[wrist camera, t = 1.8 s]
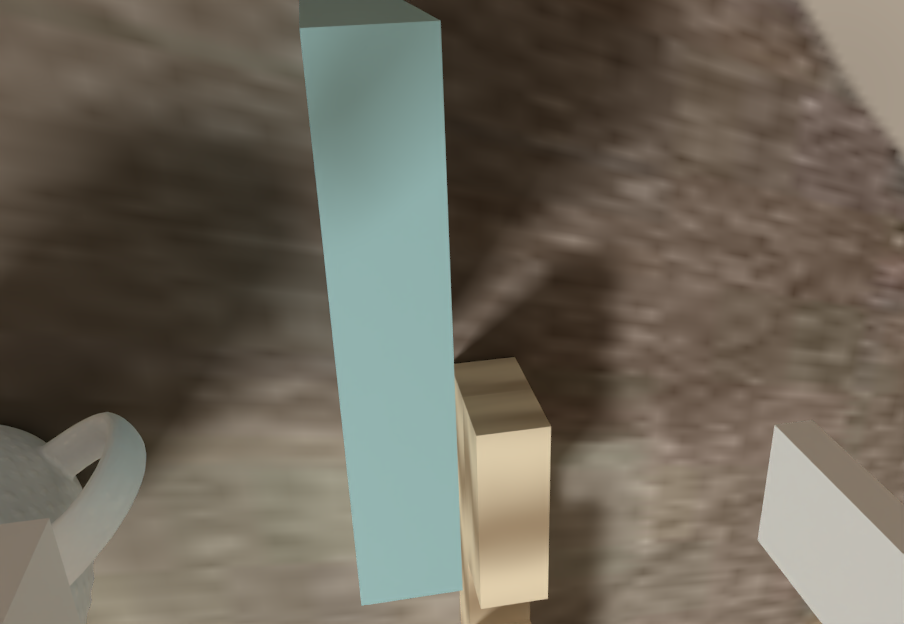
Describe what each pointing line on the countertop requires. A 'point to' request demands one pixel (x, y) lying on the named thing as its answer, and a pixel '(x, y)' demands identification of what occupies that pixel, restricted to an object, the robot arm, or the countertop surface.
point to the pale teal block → (388, 283)
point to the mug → (73, 489)
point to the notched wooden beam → (501, 492)
